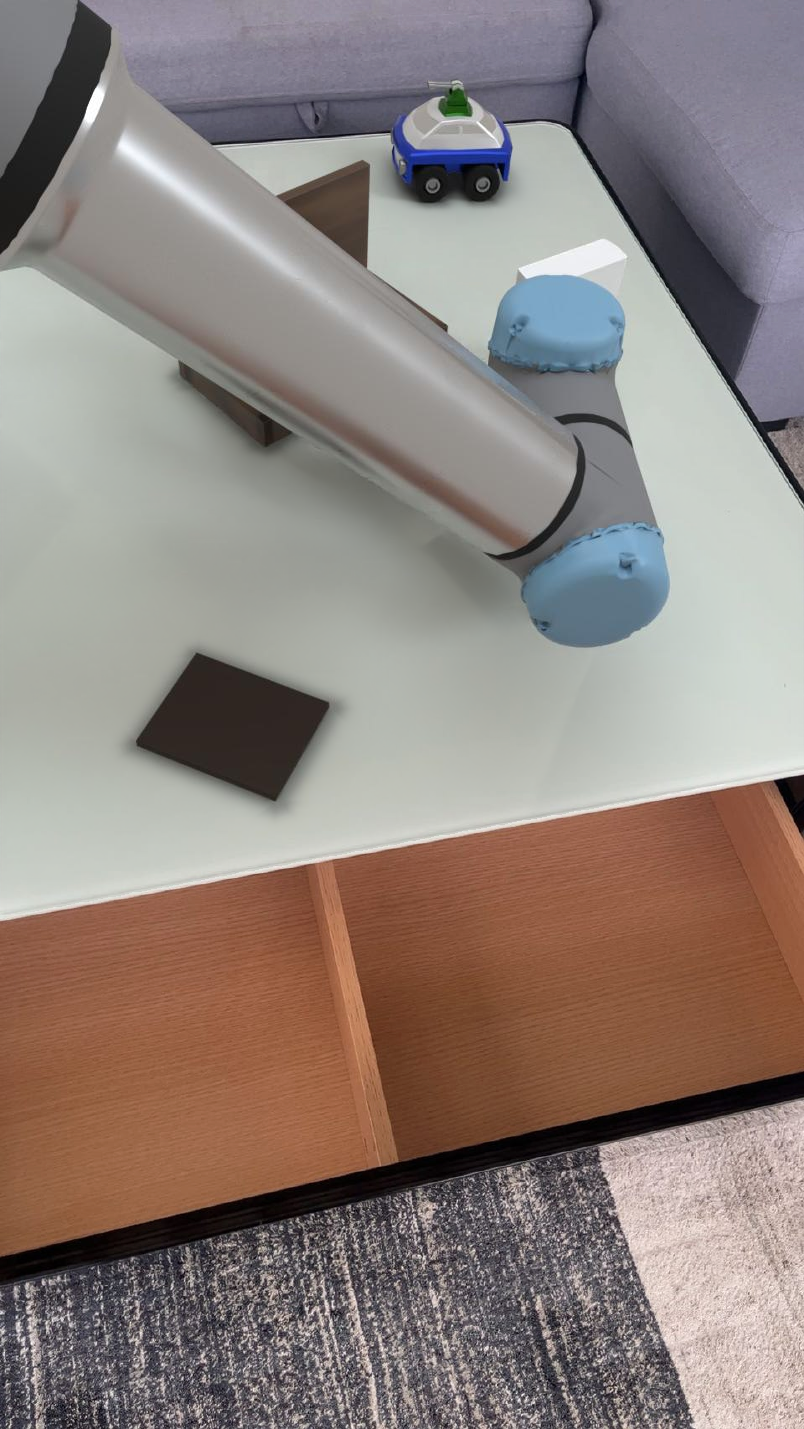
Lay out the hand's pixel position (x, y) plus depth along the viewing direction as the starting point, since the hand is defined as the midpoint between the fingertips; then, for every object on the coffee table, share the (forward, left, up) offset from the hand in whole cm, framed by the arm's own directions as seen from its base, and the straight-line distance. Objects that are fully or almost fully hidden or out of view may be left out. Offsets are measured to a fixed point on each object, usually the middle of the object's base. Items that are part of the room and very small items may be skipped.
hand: (233, 280), depth 85 cm
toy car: (+5, +36, -8) cm, 37 cm away
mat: (+17, -34, -8) cm, 39 cm away
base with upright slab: (+25, +8, -8) cm, 28 cm away
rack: (+6, +2, -8) cm, 10 cm away
